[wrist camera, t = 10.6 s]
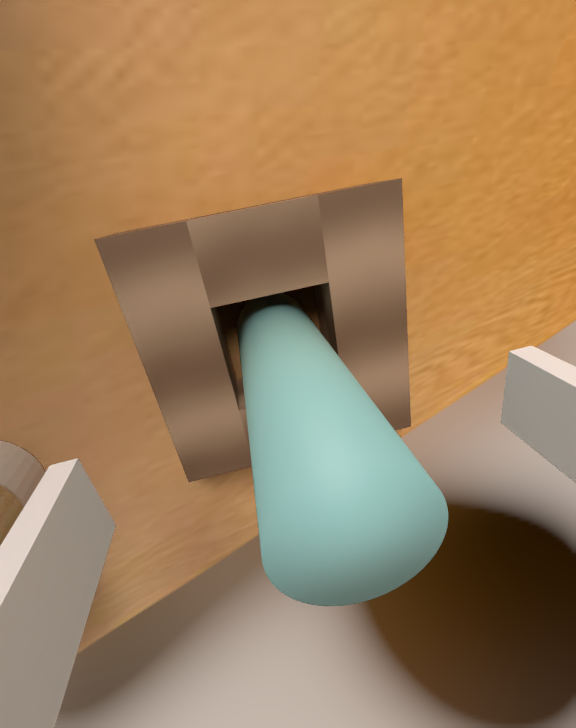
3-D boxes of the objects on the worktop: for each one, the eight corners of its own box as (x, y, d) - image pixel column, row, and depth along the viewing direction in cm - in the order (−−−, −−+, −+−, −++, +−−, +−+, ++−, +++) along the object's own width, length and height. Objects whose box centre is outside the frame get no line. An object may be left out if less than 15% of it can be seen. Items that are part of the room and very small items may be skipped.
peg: (229, 301, 22) (240, 495, 7) (300, 285, 22) (449, 441, 7) (246, 366, 23) (281, 625, 9) (311, 351, 24) (446, 577, 9)
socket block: (118, 233, 19) (94, 239, 16) (370, 183, 20) (401, 178, 17) (193, 442, 25) (188, 482, 21) (384, 395, 26) (410, 426, 23)
